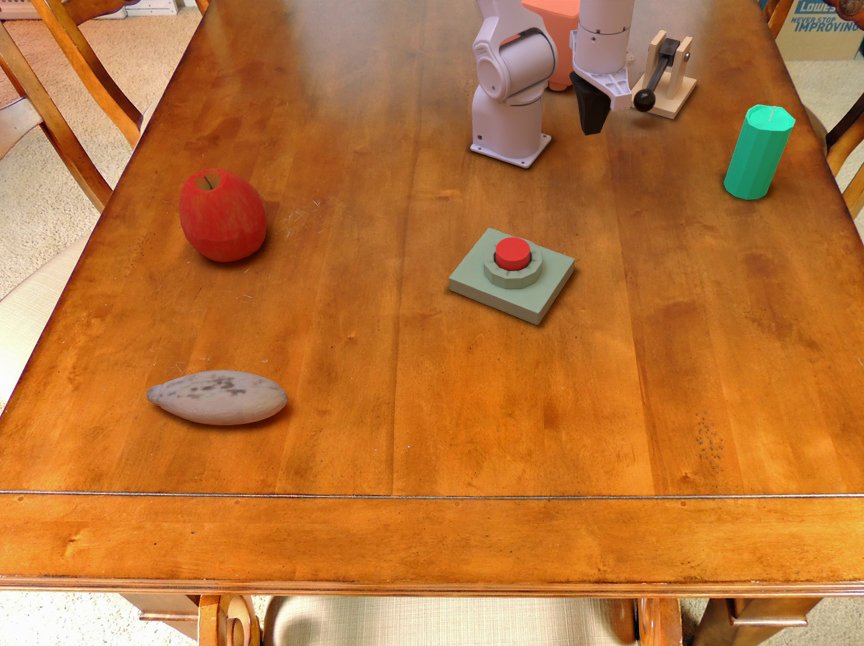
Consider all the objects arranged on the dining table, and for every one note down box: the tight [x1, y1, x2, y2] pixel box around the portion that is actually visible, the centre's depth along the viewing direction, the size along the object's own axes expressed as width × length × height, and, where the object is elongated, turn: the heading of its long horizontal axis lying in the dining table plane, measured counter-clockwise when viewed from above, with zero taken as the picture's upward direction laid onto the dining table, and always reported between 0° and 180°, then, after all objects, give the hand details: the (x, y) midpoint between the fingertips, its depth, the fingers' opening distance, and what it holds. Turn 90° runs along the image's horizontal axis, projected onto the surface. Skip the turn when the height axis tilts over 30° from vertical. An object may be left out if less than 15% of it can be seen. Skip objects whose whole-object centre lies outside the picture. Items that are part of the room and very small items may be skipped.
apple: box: [178, 167, 268, 263], centre depth 84 cm, size 10×10×10 cm
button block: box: [448, 227, 576, 326], centre depth 82 cm, size 12×10×4 cm
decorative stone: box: [146, 369, 289, 426], centre depth 72 cm, size 6×16×3 cm, turn 88°
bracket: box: [630, 29, 698, 120], centre depth 103 cm, size 10×8×9 cm
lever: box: [633, 37, 681, 113], centre depth 100 cm, size 12×3×3 cm, turn 151°
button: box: [496, 236, 530, 271], centre depth 80 cm, size 4×4×2 cm
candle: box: [723, 104, 797, 201], centre depth 89 cm, size 6×6×12 cm
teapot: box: [500, 0, 580, 92], centre depth 106 cm, size 22×13×14 cm, turn 56°
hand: (591, 131), depth 85 cm, fingers closed
